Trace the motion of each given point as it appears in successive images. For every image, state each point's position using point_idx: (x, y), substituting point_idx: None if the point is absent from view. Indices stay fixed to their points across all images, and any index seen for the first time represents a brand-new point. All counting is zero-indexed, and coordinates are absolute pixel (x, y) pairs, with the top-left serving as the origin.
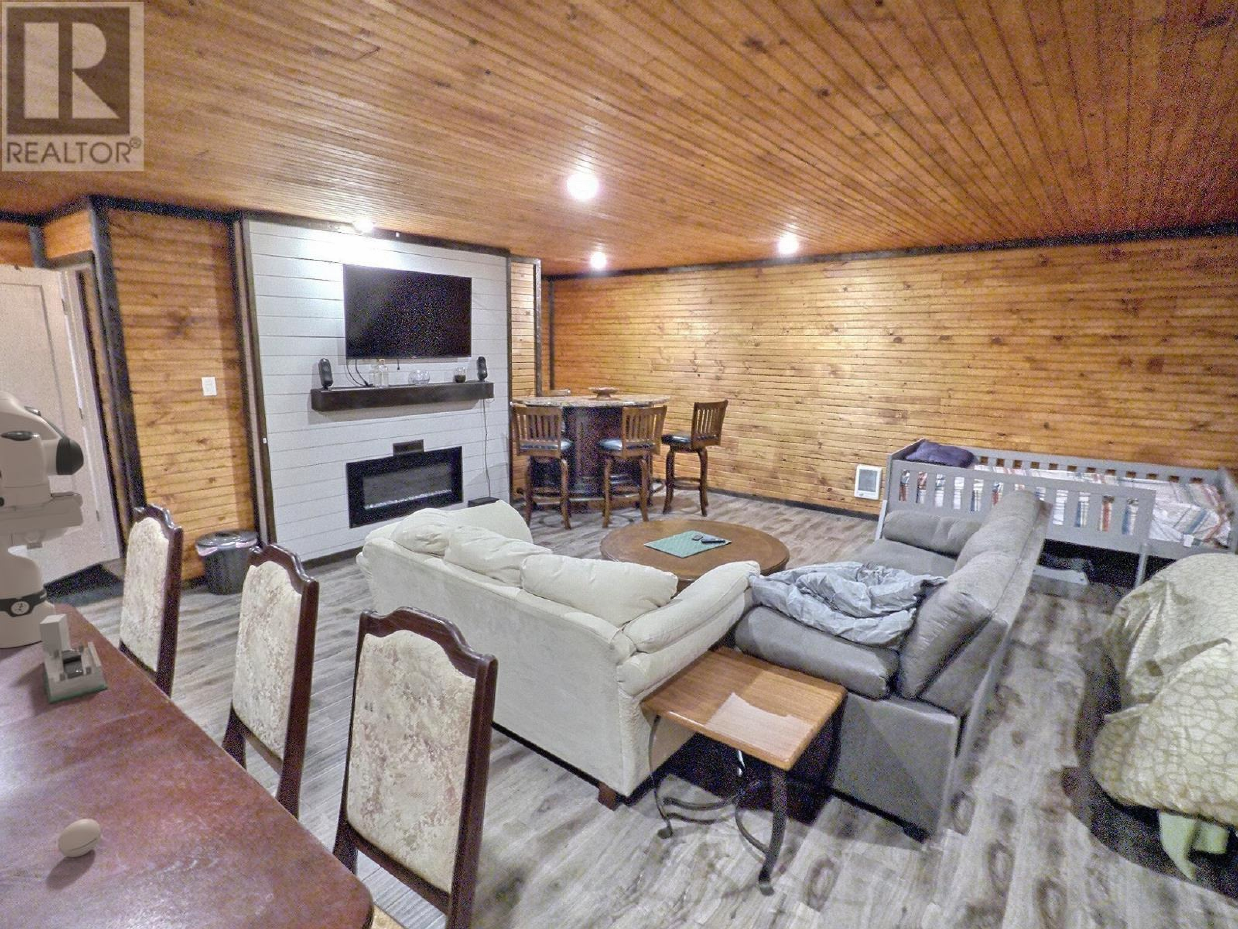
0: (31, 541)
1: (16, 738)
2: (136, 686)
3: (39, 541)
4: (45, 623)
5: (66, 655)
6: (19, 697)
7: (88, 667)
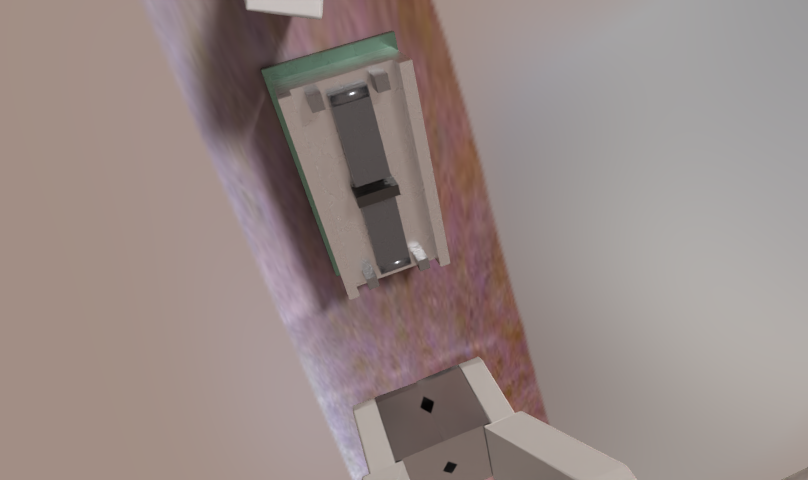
0: (426, 463)
1: (316, 376)
2: (484, 245)
3: (503, 471)
4: (271, 12)
5: (354, 149)
6: (255, 213)
7: (425, 267)
